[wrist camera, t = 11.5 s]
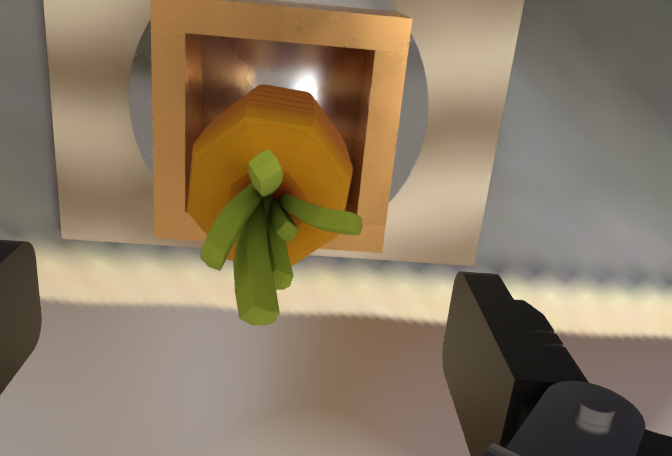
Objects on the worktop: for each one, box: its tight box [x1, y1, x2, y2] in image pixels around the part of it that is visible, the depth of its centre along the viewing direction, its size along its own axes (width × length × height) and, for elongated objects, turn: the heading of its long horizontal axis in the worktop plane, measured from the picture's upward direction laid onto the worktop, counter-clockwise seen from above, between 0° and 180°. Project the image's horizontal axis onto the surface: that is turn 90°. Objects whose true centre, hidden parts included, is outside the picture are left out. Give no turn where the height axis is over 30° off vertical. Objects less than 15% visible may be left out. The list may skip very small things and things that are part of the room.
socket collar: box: [129, 0, 429, 253], centre depth 26 cm, size 13×13×5 cm
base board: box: [43, 0, 524, 266], centre depth 29 cm, size 14×20×1 cm
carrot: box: [187, 84, 363, 325], centre depth 21 cm, size 5×5×15 cm
